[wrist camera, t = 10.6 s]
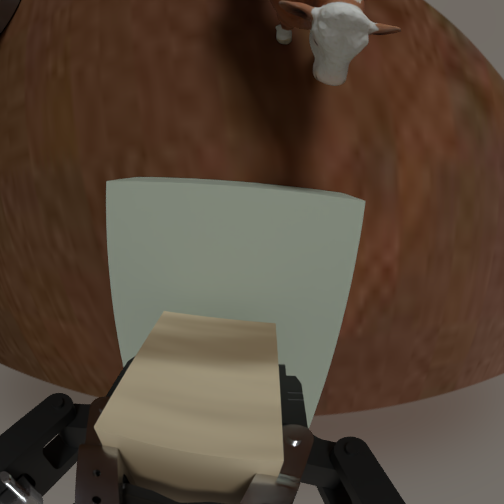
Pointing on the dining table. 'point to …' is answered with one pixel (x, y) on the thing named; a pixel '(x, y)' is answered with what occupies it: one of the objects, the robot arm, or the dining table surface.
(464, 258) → the dining table surface
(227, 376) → the maple block
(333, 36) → the bull figurine
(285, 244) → the plinth
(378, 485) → the robot arm
